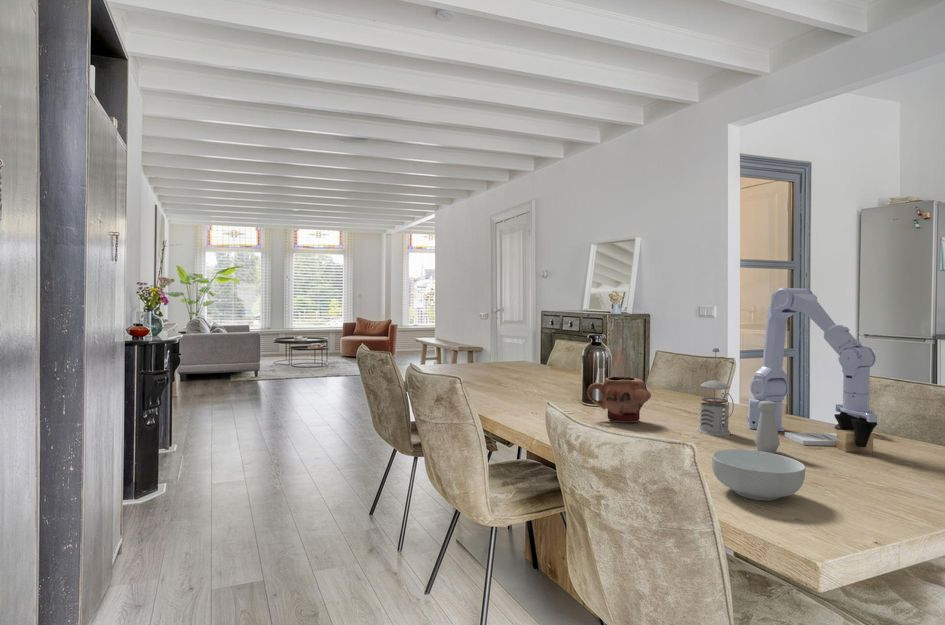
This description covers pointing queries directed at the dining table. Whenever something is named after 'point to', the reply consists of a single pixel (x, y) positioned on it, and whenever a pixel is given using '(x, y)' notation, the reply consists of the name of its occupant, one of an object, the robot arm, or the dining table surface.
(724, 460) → the cereal bowl
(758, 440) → the salt shaker
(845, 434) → the block
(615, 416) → the brown clay mug
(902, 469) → the dining table surface
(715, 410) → the french press
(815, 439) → the board
